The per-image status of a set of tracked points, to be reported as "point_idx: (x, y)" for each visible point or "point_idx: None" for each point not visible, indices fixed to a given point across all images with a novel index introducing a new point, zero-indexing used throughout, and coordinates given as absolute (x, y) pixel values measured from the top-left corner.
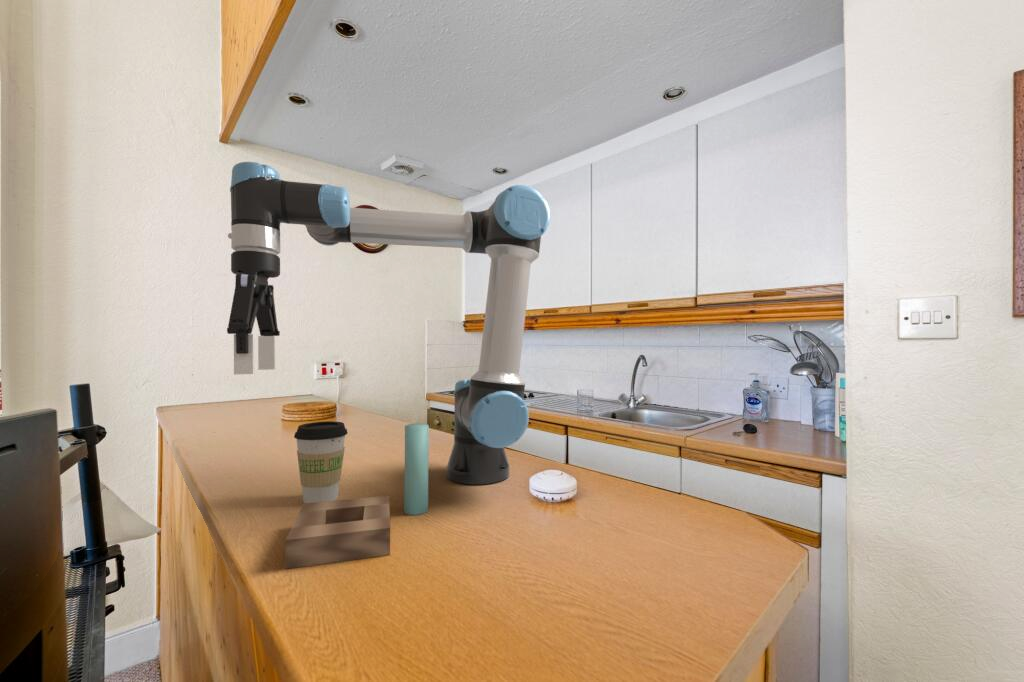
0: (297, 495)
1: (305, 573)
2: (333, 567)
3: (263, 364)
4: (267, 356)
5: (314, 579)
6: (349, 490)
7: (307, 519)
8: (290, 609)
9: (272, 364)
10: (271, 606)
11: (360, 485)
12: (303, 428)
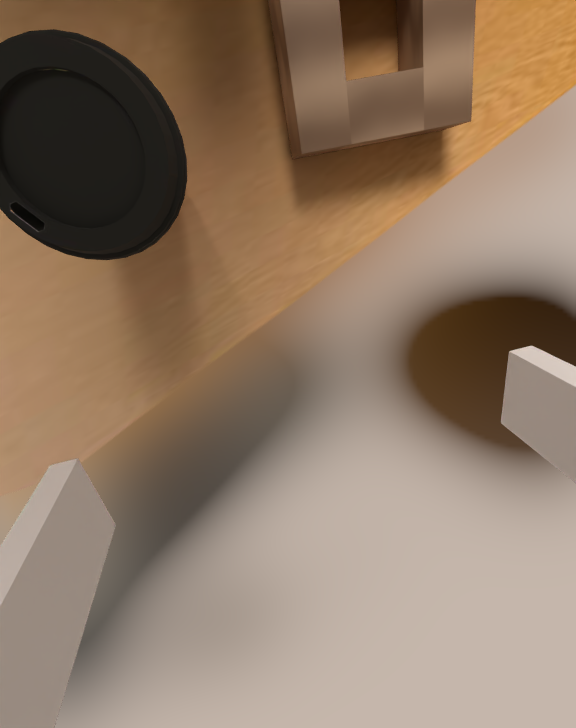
0: None
1: None
2: None
3: (96, 532)
4: (59, 570)
5: (485, 63)
6: None
7: (390, 110)
8: (547, 75)
9: (69, 491)
10: (531, 108)
11: None
12: (154, 209)
